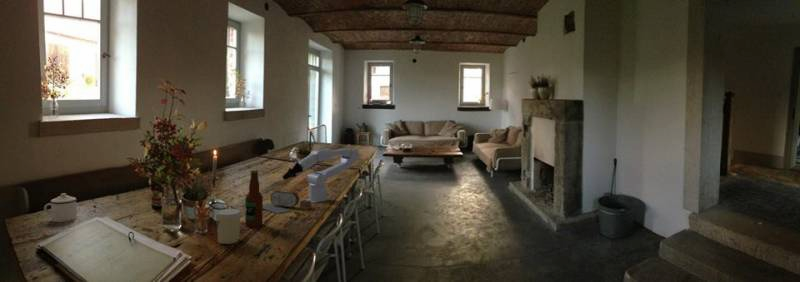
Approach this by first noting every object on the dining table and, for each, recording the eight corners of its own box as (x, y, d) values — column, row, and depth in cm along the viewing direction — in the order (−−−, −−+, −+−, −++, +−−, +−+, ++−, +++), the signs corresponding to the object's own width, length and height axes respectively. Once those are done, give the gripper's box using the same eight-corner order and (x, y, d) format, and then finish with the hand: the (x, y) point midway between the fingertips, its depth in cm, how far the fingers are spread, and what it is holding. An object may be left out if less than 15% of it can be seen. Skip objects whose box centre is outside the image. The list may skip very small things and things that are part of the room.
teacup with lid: (81, 216, 192) (80, 191, 191) (70, 222, 183) (69, 196, 182) (50, 216, 189) (49, 191, 188) (38, 222, 181) (37, 196, 179)
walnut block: (304, 207, 226) (304, 199, 225) (310, 208, 224) (311, 200, 223) (299, 208, 222) (300, 201, 221) (306, 209, 220) (306, 202, 220)
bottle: (245, 223, 193) (245, 169, 190) (261, 222, 196) (262, 169, 193) (245, 228, 186) (245, 172, 184) (262, 227, 189) (263, 172, 186)
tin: (298, 207, 224) (299, 191, 224) (296, 208, 221) (297, 192, 220) (271, 204, 225) (272, 188, 225) (269, 205, 222) (270, 189, 222)
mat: (271, 204, 227) (271, 203, 227) (291, 211, 216) (291, 210, 216) (257, 206, 221) (257, 206, 221) (277, 214, 210) (277, 213, 210)
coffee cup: (220, 236, 174) (220, 208, 173) (243, 236, 175) (243, 208, 174) (212, 244, 165) (212, 214, 164) (236, 244, 166) (237, 215, 165)
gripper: (296, 161, 236) (277, 173, 227) (306, 153, 225) (286, 166, 217) (303, 171, 237) (284, 184, 228) (314, 164, 226) (294, 177, 217)
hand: (286, 176), depth 222 cm, fingers open, 7 cm apart
